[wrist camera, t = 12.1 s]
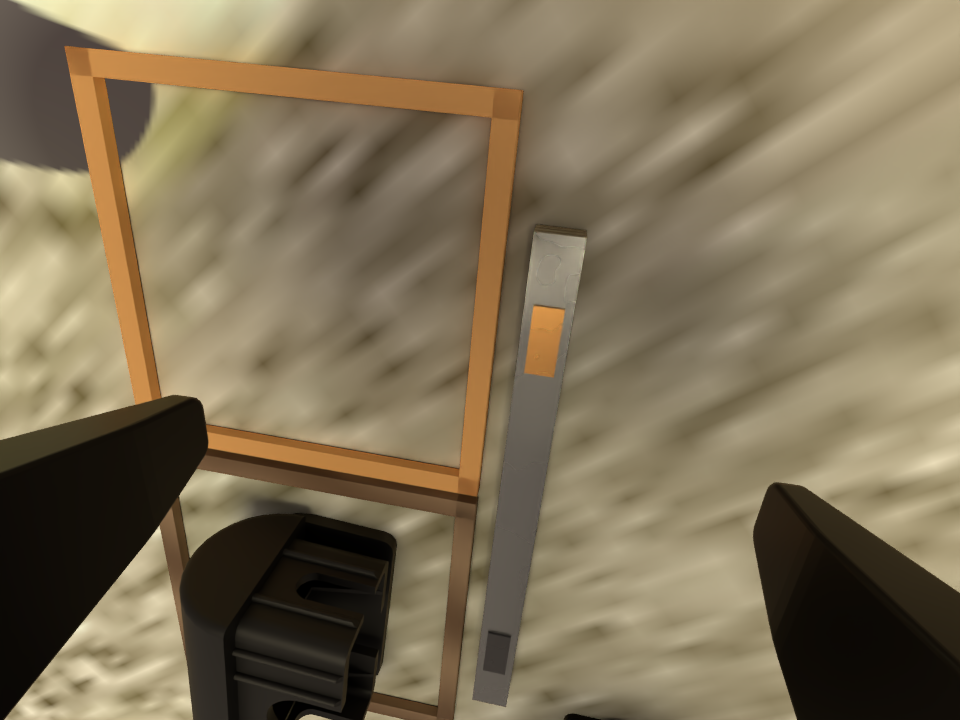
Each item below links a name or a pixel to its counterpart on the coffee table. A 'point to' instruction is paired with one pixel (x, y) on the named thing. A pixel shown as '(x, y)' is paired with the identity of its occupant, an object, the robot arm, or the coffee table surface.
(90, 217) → the coffee table surface
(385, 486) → the walnut seat frame
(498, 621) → the metal rail
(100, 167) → the orange marked frame
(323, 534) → the end cap
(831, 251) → the coffee table surface
